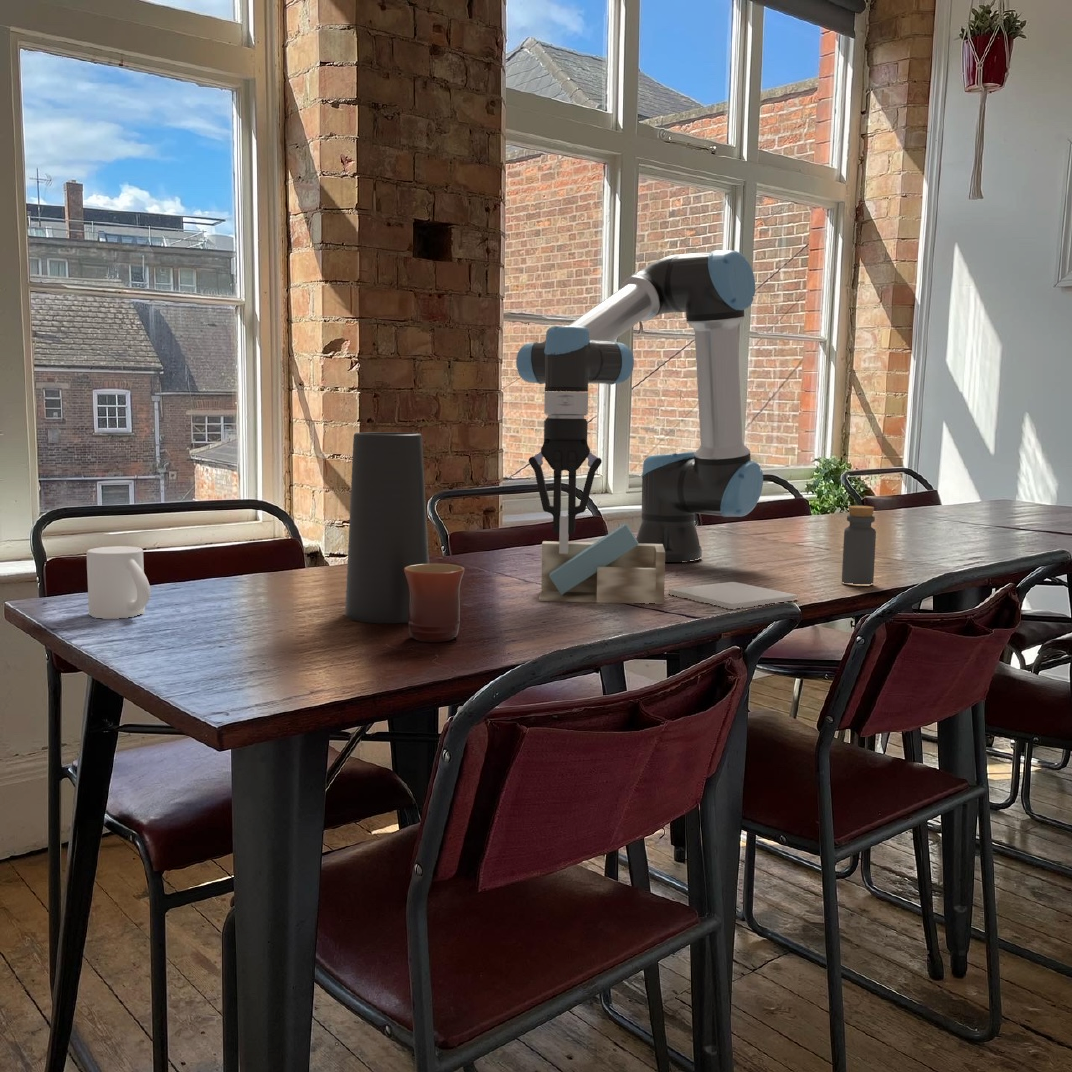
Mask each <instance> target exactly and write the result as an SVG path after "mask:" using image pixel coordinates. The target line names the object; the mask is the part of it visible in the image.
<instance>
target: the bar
mask: <svg viewBox="0 0 1072 1072" xmlns="http://www.w3.org/2000/svg"><path fill="white" fill-rule="evenodd" d="M636 538H637V537H635V535H634V534H633V532H632V530H631V528H629V526H628V525H627V523H626V522H624V523H623V524H620V526H618V527H616V528H615V529H614V530H612V531H611V532H608V534H606V535H605V536H603V537H601V538H600V539H599V540H597V541H595V543H594V544H592V545H591V546H589V547H588V548H586V549H585V550H583V551H582V552H580V553H579V554H577V555H576V556H574V557H573V558H571V559H570V560H568V561H567V562H565V563H564V564H562V565H561V566H559V567H557V568H556V569H554V570H553V571H551V572H550V574H549V577H550V579H551V580H552V582H553V583H554V585H555V586H556V587H557V589H558V590H559V592H560V593H561V595H562V594H564V593H565V592H567V591H568V590H570V589H571V588H573V587H574V586H576V585H578V584H579V583H581V582H582V581H584V580H585V579H587V578H588V577H590V576H591V575H593V574H594V573H596V572H597V567H605V566H607V565H608V564H610V563H611V562H613V561H614V560H616V559H617V558H619V557H620V556H622V555H623V554H625V553H626V552H628V551H629V550H631V549H632V548H634V547H636V546H637V545H638V541H637V539H636Z"/></svg>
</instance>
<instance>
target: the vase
mask: <svg viewBox="0 0 1072 1072" xmlns="http://www.w3.org/2000/svg"><path fill="white" fill-rule="evenodd" d="M423 449H424V447H423V436H422V434H421V433H416V432H396V431H395V432H392V431H391V432H387V431H386V432H385V431H384V432H379V431H378V432H377V431H375V432H372V431H371V432H370V431H368V432H356V433H354V434H353V441H352V461H351V464H352V466H351V482H350V483H351V485H350V487H351V488H350V505H349V527H348V545H347V546H348V548H347V549H348V550H347V567H346V591H345V594H346V595H345V617H346V618H347V619H348V620H352V621H354V622H359V623H369V624H404V623H408V607H409V588H408V583H407V580H406V576H405V573H404V568H405V567H407V566H411V565H418V564H430V557H429V540H428V538H429V537H428V523H427V507H426V506H427V505H426V501H427V500H426V489H425V485H426V484H425V483H426V482H425V469H424V468H425V467H424V451H423Z"/></svg>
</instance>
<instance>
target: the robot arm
mask: <svg viewBox="0 0 1072 1072" xmlns="http://www.w3.org/2000/svg"><path fill="white" fill-rule="evenodd" d="M755 293H756V279H755V275H754V271H753V268H752V265H750V262H749V261H748V260H747V258H746V257H745V256H744V255H743V253H741V252H739V251H736V250H731V249H730V250H729V249H727V250H725V249H724V250H720V249H716V250H710V251H703V252H702V251H701V252H700V251H699V252H691V253H677V254H670V255H668V256H665V257H662V258H660V259H657V260H656V261H654V262H652V263H650V264H647V265H646V266H644V267H643V268H641V269H640V270H637V271H636V272H634V273H633V274H631V275H630V276H628V277H627V278H626V279H624V280H623V281H622V283H621V285H620V287H619V290H617V291H616V292H613V293H612V294H611V295H610V296H609V297H607V298H606V299H604V300H602V301H601V302H600V303H598V304H596V305H595V306H594V307H592V308H591V309H590V310H588V311H586V312H585V313H584V314H582V315H580V316H579V317H578V318H577V319H575V320H574V321H572V322H570V323H569V324H567V325H557V326H551V327H549V328H548V329H547V330H546V333H545V340H543V341H542V342H538V341H533V342H530V343H526V344H524V345H522V346H521V348H520V349H519V350H518V352H517V355H516V360H515V361H516V363H515V366H516V368H517V369H516V370H517V374H518V376H519V377H520V378H521V379H522V380H523V381H525V382H527V383H531V384H539V385H544V403H543V404H544V407H543V408H544V413H543V414H544V415H546V416H547V417H546V418H545V419H544V420H543V444H542V446H541V448H540V452H538V453H537V454H535V455H533V456H531V457H529V459H528V463H529V465H530V466H531V468H532V469H533V471H534V475H535V481H536V485H537V488H538V492H539V497H540V502H541V505H542V510H543V511H544V512H545V513H549V514H551V515H552V518H553V519H552V520H553V521H552V532H553V534H557V535H558V536H559V537H558V542H559V554H568V542H569V535H574V534H575V531H576V516H577V515H578V514H579V515H580V514H583V513H584V512H586V509H587V505H588V501H589V497H590V494H591V491H592V487H593V482H594V479H595V475H596V472H597V470H598V469H599V467H600V466H601V464H602V462H603V461H602V458H600V457H597V456H596V455H594V454H593V453H592V452H591V449H590V446H589V444H588V425H589V424H588V423H589V422H588V420H587V418H585V416H587V415H588V413H589V384H593V385H595V384H598V385H599V384H601V385H603V384H605V385H614V384H615V385H617V384H621V383H624V382H626V381H627V380H628V379H629V378H630V376H632V373H633V370H634V366H635V359H634V354H633V352H632V350H631V349H630V347H628V345H626V344H625V343H623V342H619V341H618V342H617V341H615V340H616V339H617V338H619V337H620V336H622V335H623V334H625V332H627V331H629V330H630V329H631V328H633V327H634V326H636V325H637V324H638V323H639V322H648V321H651V320H653V319H654V318H655V317H656V316H658V315H659V316H660V315H662V314H671V313H672V314H673V313H685V318H686V319H685V320H686V323H687V324H688V325H689V326H690V327H691V328H692V329H693V331H694V345H695V362H696V364H695V365H696V367H695V368H696V380H697V381H696V384H697V399H698V420H699V438H700V446H699V447H698V448H697V450H696V451H688V452H687V451H686V452H676V453H675V452H674V453H665V454H664V453H663V454H661V453H660V454H654V455H649V456H647V457H645V459H644V460H643V464H642V473H641V480H642V482H641V520H640V521H641V522H640V526H639V529H638V531H637V535H636V537H635V538H636V539H637V541H638V543H642V544H663V547H664V550H665V562H682V561H690V560H695V559H698V558H700V557H702V554H703V553H702V552H703V550H702V545H700V540H699V536H698V532H697V528H696V524H695V523H696V521H695V518H696V514H702V515H709V516H710V515H711V516H722V517H725V518H729V517H745V516H747V515H749V514H750V513H751V512H752V511H753V510H754V508H755V507H756V506H757V504H758V502H759V500H760V498H761V495H762V491H763V486H764V484H763V483H764V474H763V469H761V465H760V464H758V463H757V462H756V461H754V460H753V461H752V460H751V449H750V448H748V447H747V446H746V445H745V444H744V443H743V429H742V428H743V427H742V426H743V425H742V405H741V403H742V401H741V379H740V360H739V358H740V357H739V336H738V326H739V324H740V323H741V322H742V321H743V320H744V319H745V310H747V309H748V308H750V306H751V305H753V304H752V303H753V301H754V296H755V295H756V294H755ZM543 458H544V459H545V461H546V463H547V464H548V466H549V467H550V469H552V470H553V495H552V496H553V501H552V503H553V505H551V503H550V499H549V493H548V489H547V485H546V480H545V476H544V472H543V468H542V465H543V463H544V461H543ZM586 459H587V460H588V462H587V466H588V467H589V469H588V470H587V471H588V472H587V476H586V480H585V482H584V487H583V490H582V494H581V499H580V502H579V505H576V504H577V495H576V494H577V493H576V492H577V470H579V469H580V467H581V466H582V465H583V463H584V462H585V461H586ZM563 471H567V472H568V492H567V493H568V495H567V496H568V499H567V500H568V501H567V506H568V507H567V510H568V511H567V514H562V510H561V509H562V475H563V474H562V472H563ZM682 563H683V562H682Z"/></svg>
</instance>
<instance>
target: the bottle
mask: <svg viewBox="0 0 1072 1072" xmlns="http://www.w3.org/2000/svg"><path fill="white" fill-rule="evenodd" d="M874 511H875V507H874V506H869V505H849V506H848V512H849V514H848V515H847V516H846V521H847V522H848V523H849V526H847V527H845V528H844V532H843V543H842V544H843V547H842V548H843V549H842V569H841V583H842V582H844V583H853V584H871V583H873V584H874V575H875V559H876V543H877V542H876V541H877V540H876V539H877V531H876V529H875V528H873V527H872V523H874V522H875V520H876V518H875V516H873V515H874Z"/></svg>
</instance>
